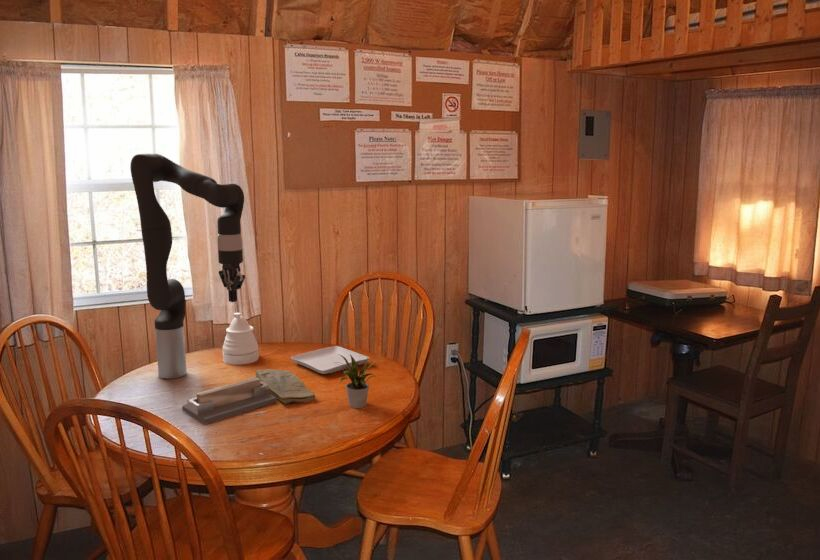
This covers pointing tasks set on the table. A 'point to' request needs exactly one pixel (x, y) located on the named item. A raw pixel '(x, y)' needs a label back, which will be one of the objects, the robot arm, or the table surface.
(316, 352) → the salad plate
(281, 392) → the stone slab
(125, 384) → the table surface
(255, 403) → the base board
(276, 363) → the table surface
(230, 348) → the honey pot
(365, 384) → the house plant
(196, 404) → the end caps
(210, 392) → the slat
